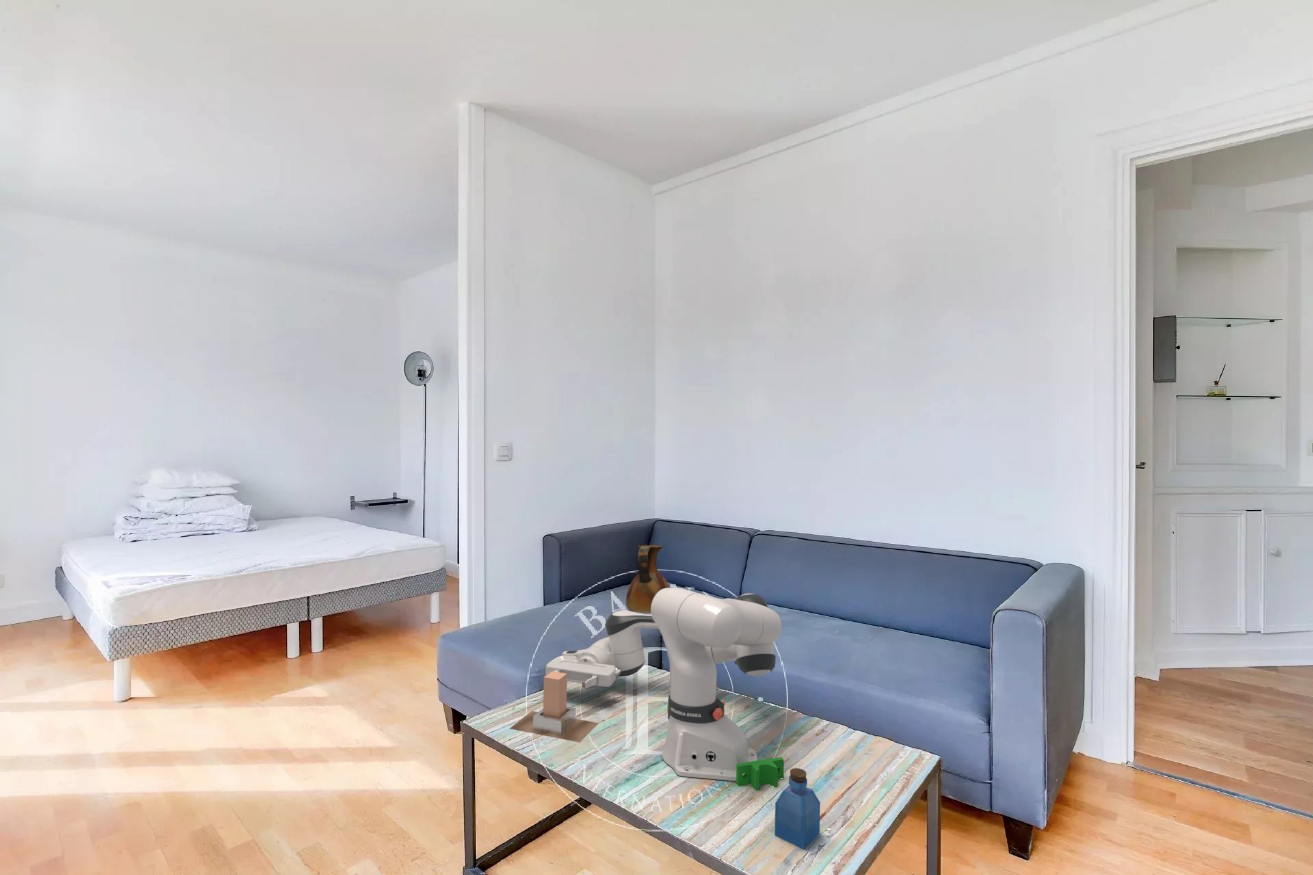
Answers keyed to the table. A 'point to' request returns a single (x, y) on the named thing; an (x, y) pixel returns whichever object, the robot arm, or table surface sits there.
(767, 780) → the pipe clamp
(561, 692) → the tall rectangular block
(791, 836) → the perfume bottle
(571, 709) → the square metal frame
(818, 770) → the table surface
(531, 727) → the holder base
